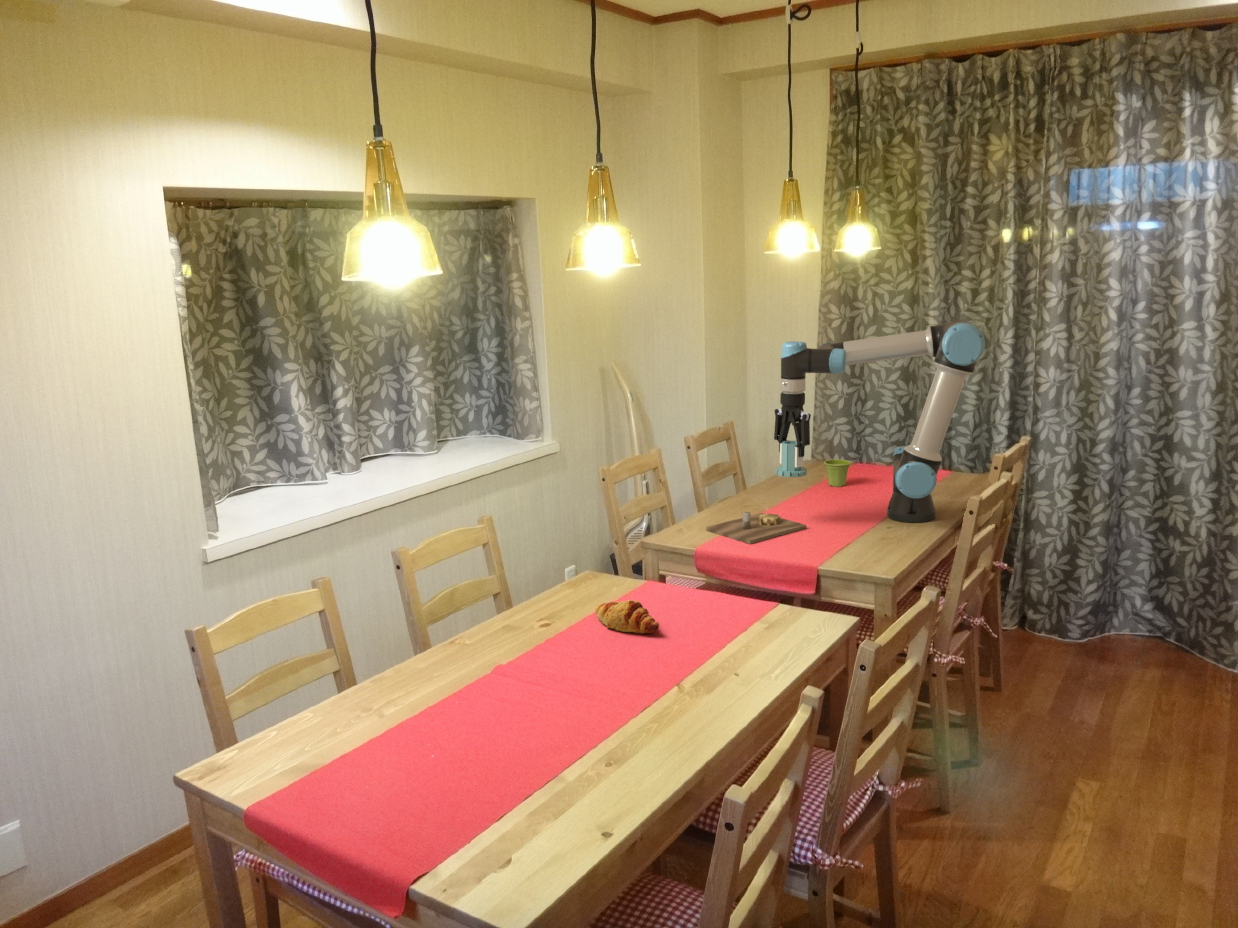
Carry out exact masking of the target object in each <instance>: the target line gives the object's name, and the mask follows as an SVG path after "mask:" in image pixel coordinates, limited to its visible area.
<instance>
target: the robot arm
mask: <svg viewBox="0 0 1238 928" xmlns="http://www.w3.org/2000/svg"><path fill="white" fill-rule="evenodd" d="M985 347H986V340H985V336H984V334H983V332H982V331H981V329H980V328H978V326H976V325H975V324H973V323H971V322H969V321H966V320H962V319H960V320H952V321H949V322H945V323H942V324H937V325H936V324H935V325H929V326H928V327H927V328H926V329H925V330H917V331H911V332H905V333H897V334H890V335H883V336H877V337H870V338H869V337H868V338H861V339H855V340H848V341H843V342H842V341H841V342H834V343H831V342H827V343H822V344H821V345H820V346H819V347H818V348H808V347H807V343H806V342H805V341H796V340H793V341H785V342H784V343H782V344H781V352H780V353H781V355H780V391H781V393H780V397H779V398H780V400H779V402H780V405H781V408H776V409H774V415H775V416H774V417H775V420H774V421H775V422H774V433H773V440H775V441H777V442H778V452H779V464H780V465H782V442H783V441H789V440H788V435H789V432H790V428H791V426H793V429H794V435H795V441H797V446H796V447H795V467H796V468H798V467H804V457H805V448H806V447H807V446H809V445H810V444H811V427H810V426H811V425H810V421H811V416H812V415H811V413H806V412H805V411H804V405H805V404H806V393H805V391H806V374H832V375H835V374H844V373H845V372H846V366H851V365H860V364H868V363H874V362H883V361H890V360H897V359H907V358H912V357H913V358H914V357H921V356H926V355H927V356H929V357H931V358H934V361H933V364H934V366H935V367H936V371H935V374H934V377H933V380H932V383H931V385H930V388H929V391H928V393H927V396H926V399H925V402H924V406H923V409H922V411H921V414H920V417H919V420H918V423H917V426H916V427H915V431H914V435H913V437H912V441H911V443H910V444H908V445H901V446H896V447H894V449H893V454H892V457H893V463H892V465H893V467H892V468H893V471H892V473H893V475H892V486H893V487H892V489H893V490H892V495H891V497H890V499H889V503H888V505H887V509H886V517H888V519H891V520H894V521H898V522H905V523H925V522H930V521H933V520H935V519H936V517H937V510H936V507H935V504H934V500H933V497H932V492H933V491H934V490H935V488H936V486H937V482H938V481H937V480H938V477H937V475H938V473H939V469H940V467H941V464H942V461H943V458H942V456H941V454H940V453H941V448H942V445H943V443H944V440H945V437H946V434H947V431H948V429H949V426H950V423H951V420H952V417H953V415H954V412H955V410H956V406H957V403H958V402H959V401H958V400H959V398H960V395H961V392H962V389H963V386H964V384H965V381H966V378H967V377H969V376H970V375H973V374H974V371H975V368H976V367H977V363H978V360H980V359H981V357H982V355H983V354H984V352H985ZM801 442H802V443H801Z"/></svg>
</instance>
